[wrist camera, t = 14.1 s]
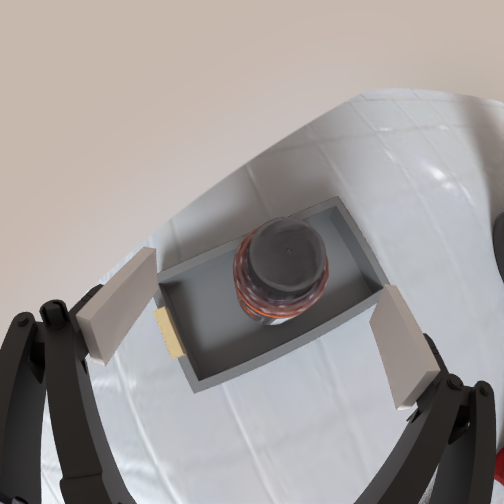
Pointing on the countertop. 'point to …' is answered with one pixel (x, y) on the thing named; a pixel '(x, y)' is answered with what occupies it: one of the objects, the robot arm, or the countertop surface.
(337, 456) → the countertop surface
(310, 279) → the supplement bottle
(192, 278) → the trough
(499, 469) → the plastic cup
